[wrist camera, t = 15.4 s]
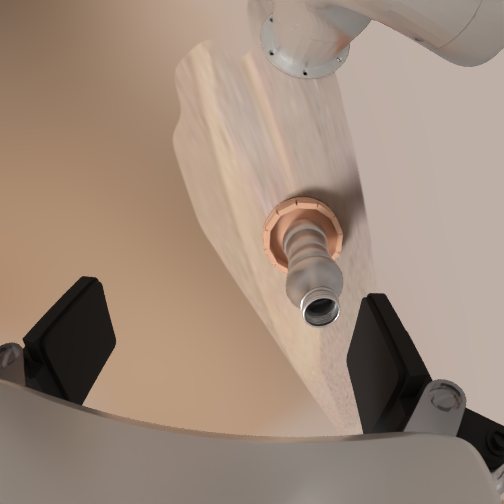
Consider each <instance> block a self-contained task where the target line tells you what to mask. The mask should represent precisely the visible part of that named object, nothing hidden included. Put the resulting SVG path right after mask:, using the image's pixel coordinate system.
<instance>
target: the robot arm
mask: <svg viewBox="0 0 504 504" xmlns="http://www.w3.org/2000/svg"><path fill="white" fill-rule="evenodd" d="M371 19H372V20H376V21H378V22H380V23H382V24H384V25H386V26H388V27H391V28H392V29H394V30H396V31H398V32H400V33H401V34H403V35H405V36H407V37H409V38H411V39H412V40H414V41H415V42H417V43H419V44H420V45H422V46H424V47H426V48H427V49H429V50H430V51H432V52H434V53H435V54H437V55H439V56H440V57H442V58H444V59H445V60H447V61H449V62H451V63H454V64H456V65H460V66H464V67H473V66H478V65H481V64H483V63H486V62H487V61H489V60H490V59H492V58H493V57H494V56H496V55H497V54H498V53H499V52H500V51H501V49H503V48H504V0H274V1H273V13H272V14H270V15H269V17H268V18H267V20H266V21H265V23H264V25H263V28H262V34H261V41H262V46H263V49H264V52H265V54H266V56H267V57H268V59H269V60H270V62H271V63H272V64H273V65H274V66H275V67H277V68H278V69H279V70H281V71H282V72H284V73H286V74H288V75H290V76H294V77H297V78H303V79H317V78H321V77H325V76H327V75H330V74H331V73H333V72H335V71H336V70H337V69H338V68H339V67H341V65H342V64H343V63H344V62H345V60H346V58H347V56H348V53H349V48H350V44H349V43H350V42H351V41H352V40H353V39H354V38H355V37H356V36H357V35H359V34H360V33H361V32H362V31H363V30H364V29H365V28H366V27H367V25H368V24H369V23H370V21H371ZM272 20H273V22H271V21H272ZM270 53H273V55H270ZM337 59H339V60H340V61H339V62H338V61H337ZM304 72H306V73H307V75H304V74H303V73H304ZM23 342H24V344H25V347H24V348H22V347H21V346H20V345H19V344H17V343H12V342H11V343H6V344H4V345H1V346H0V504H504V426H503V425H501V424H498V423H496V422H494V421H492V420H490V419H488V418H486V417H484V416H482V415H480V414H478V413H476V412H474V411H472V410H470V409H467V408H466V397H465V394H464V392H463V390H462V389H461V388H460V387H459V386H458V385H457V384H455V383H453V382H451V381H448V380H441V379H440V380H439V379H438V380H434V381H432V379H431V377H430V375H429V372H428V371H427V368H426V366H425V365H424V362H423V361H422V359H421V357H420V355H419V353H418V351H417V349H416V347H415V345H414V344H413V341H412V340H411V338H410V336H409V334H408V332H407V331H406V330H405V328H404V326H403V325H402V323H401V321H400V319H399V317H398V316H397V314H396V312H395V310H394V309H393V307H392V305H391V303H390V302H389V300H388V298H387V296H386V295H385V294H383V293H381V294H380V293H369V294H368V295H367V297H364V298H363V299H362V301H361V305H360V309H359V313H358V317H357V321H356V325H355V329H354V333H353V336H352V340H351V343H350V347H349V350H348V354H347V367H348V371H349V375H350V379H351V383H352V387H353V391H354V395H355V399H356V403H357V408H358V412H359V416H360V421H361V425H362V430H363V434H361V435H347V436H326V437H325V436H323V437H269V436H249V435H248V436H247V435H236V434H224V433H214V432H206V431H198V430H190V429H184V428H177V427H171V426H165V425H159V424H154V423H149V422H144V421H140V420H135V419H131V418H126V417H122V416H118V415H114V414H110V413H106V412H102V411H99V410H95V409H92V408H88V407H85V406H82V404H83V402H84V400H85V399H86V397H87V395H88V393H89V391H90V389H91V388H92V386H93V384H94V382H95V381H96V379H97V377H98V375H99V373H100V372H101V370H102V368H103V366H104V365H105V363H106V361H107V359H108V358H109V356H110V354H111V353H112V351H113V349H114V348H115V345H116V337H115V334H114V330H113V326H112V323H111V319H110V315H109V312H108V307H107V303H106V299H105V295H104V290H103V286H102V284H101V282H99V281H98V279H97V278H95V277H86V276H82V277H81V278H80V279H79V280H78V281H77V282H76V283H75V284H74V285H73V286H72V287H71V288H70V289H69V290H68V291H67V292H66V293H65V294H64V295H63V296H62V297H61V298H60V299H59V300H58V301H57V302H56V303H55V304H54V305H53V306H52V307H51V308H50V309H49V310H48V312H47V313H46V314H45V315H44V316H43V317H42V318H41V319H40V320H39V321H38V322H37V324H35V326H34V327H33V328H32V329H31V330H30V331H29V332H28V333H27V334H26V336H25V337H24V338H23Z"/></svg>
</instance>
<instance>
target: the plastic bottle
mask: <svg viewBox="0 0 504 504" xmlns="http://www.w3.org/2000/svg"><path fill="white" fill-rule="evenodd" d="M282 245H283V249H284V252H285V255H286V256H287V258H288V272H287V277H286V286H285V287H286V293H287V296H288V298H289V299H290V301H291V302H292V304H293V305H294V306H295V307H297V308H298V309H300V310H301V312H302V315H303V319H304V320H305V322H306V323H307V324H308V325H310V326H312V327H316V328H321V327H326V326H328V325H330V324H332V323H333V322H334V321H336V319H337V318H338V316H339V314H340V305H339V299H338V298H339V297H340V295H341V293H342V289H343V274H342V272H341V270H340V268H339V266H338V265H337V264H336V262H335V261H334V260H333V259H332V257H331V255H330V254H329V252H328V247H327V246H328V240H327V234H326V232H325V230H324V228H323V227H322V226H321V225H320V224H319V223H317V222H316V221H314V220H311V219H300V220H297V221H295V222H293V223H292V224H290V225H289V227H288V228H287V229H286V231H285V233H284V236H283V241H282Z"/></svg>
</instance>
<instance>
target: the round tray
mask: <svg viewBox="0 0 504 504" xmlns="http://www.w3.org/2000/svg"><path fill="white" fill-rule="evenodd" d="M300 219H311V220H314V221H316V222H317V223H319V224H320V225H321V226H322V227H323V228H324V230H325V232H326V234H327V240H328V246H327V247H328V252H329V254H330V255H331V257H332V259H333V260H334V261H335V260H336V258H337V257H338V256H339V255H340V253H339V252H341V247H342V240H343V234H342V233H343V232H342V229H341V227H340V225H339V222H338V219H337V217H336V216H335V214H334V213H333V211H332V210H331V209H330V208H329V207H328V206H327V205H326V204H324V203H323V202H321V201H319V200H317V199H314V198H310V197H296V198H291V199H288V200H286V201H284V202H282V203H280V204H279V205H278V206H276V207H275V208H274V209H273V210H272V212H271V213H270V214H269V216H268V218H267V220H266V222H265V226H264V232H263V240H264V250H265V252H266V254H267V256H268V258H269V259H270V261H271V263H272V265H274V267H275V268H277V269H279V270H281V271H282V272H284V273H286V274H287V272H288V258H287V256H286V255H285V252H284V249H283V245H282V241H283V236H284V233H285V231H286V229H287V228H288V227H289V225H290V224H292V223H293V222H295V221H297V220H300Z"/></svg>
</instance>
